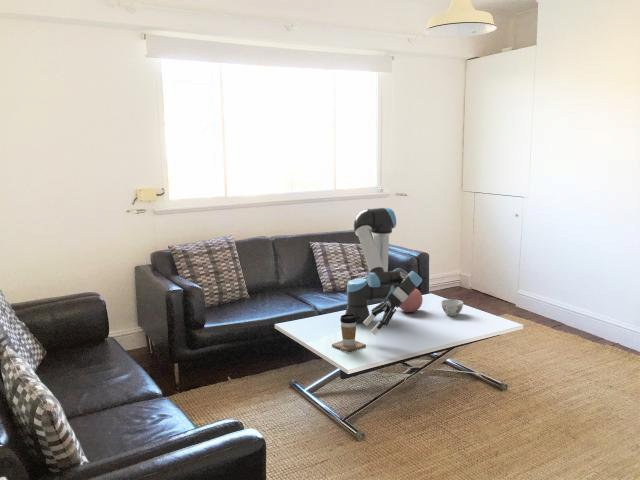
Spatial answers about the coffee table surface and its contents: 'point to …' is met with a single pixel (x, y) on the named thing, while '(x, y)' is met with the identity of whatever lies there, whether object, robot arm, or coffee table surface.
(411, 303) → the pink rubber ball
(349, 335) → the coffee cup
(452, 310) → the teacup
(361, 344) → the plate
